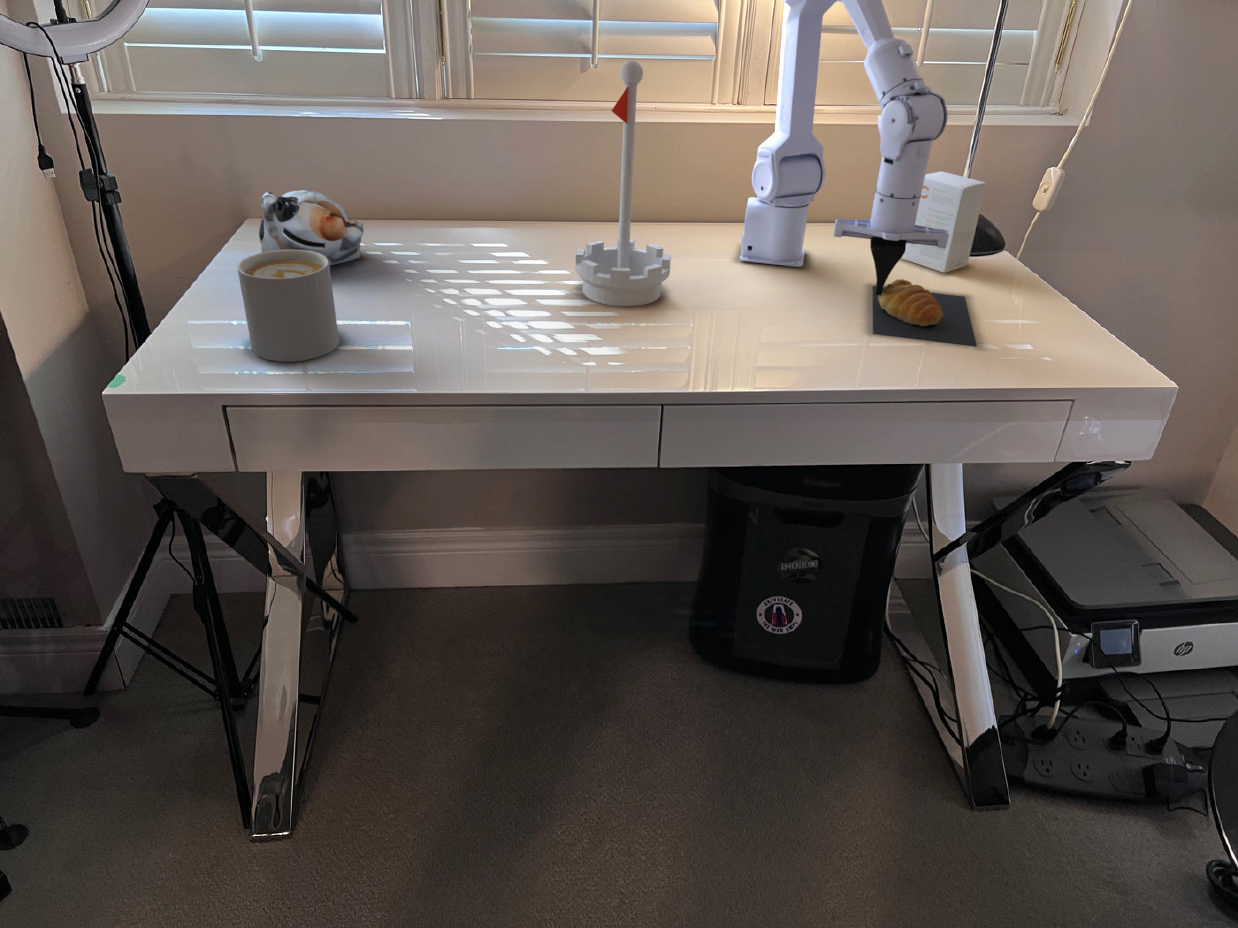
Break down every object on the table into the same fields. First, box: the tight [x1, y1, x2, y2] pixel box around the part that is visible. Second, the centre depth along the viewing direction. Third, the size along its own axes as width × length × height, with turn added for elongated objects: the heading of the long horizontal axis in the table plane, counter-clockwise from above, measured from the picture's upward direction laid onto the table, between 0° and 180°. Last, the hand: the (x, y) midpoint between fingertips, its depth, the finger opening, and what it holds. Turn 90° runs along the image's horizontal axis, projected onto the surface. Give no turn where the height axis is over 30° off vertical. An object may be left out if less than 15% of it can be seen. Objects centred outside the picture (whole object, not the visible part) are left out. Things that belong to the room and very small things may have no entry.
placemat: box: [872, 285, 978, 347], centre depth 128 cm, size 13×18×1 cm
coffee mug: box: [237, 250, 340, 363], centre depth 111 cm, size 13×10×10 cm
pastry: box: [878, 279, 943, 326], centre depth 126 cm, size 9×7×4 cm
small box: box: [901, 170, 987, 274], centre depth 143 cm, size 8×6×13 cm
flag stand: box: [575, 60, 672, 307], centre depth 123 cm, size 13×13×30 cm
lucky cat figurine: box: [258, 189, 364, 266], centre depth 131 cm, size 15×12×14 cm
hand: (878, 292), depth 128 cm, fingers closed, pressing on pastry
